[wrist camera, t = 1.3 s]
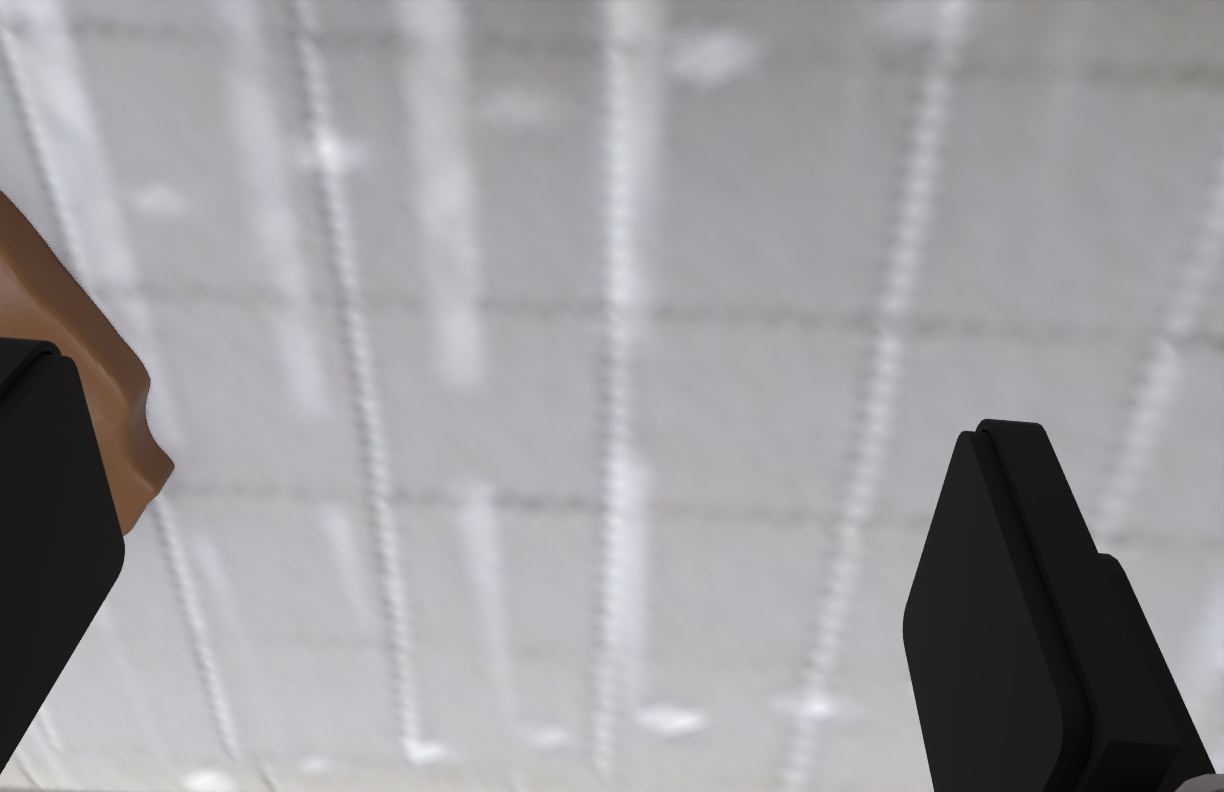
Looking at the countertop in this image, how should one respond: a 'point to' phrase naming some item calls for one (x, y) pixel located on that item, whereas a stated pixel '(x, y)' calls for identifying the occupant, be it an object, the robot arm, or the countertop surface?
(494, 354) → the countertop surface
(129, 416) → the plant
